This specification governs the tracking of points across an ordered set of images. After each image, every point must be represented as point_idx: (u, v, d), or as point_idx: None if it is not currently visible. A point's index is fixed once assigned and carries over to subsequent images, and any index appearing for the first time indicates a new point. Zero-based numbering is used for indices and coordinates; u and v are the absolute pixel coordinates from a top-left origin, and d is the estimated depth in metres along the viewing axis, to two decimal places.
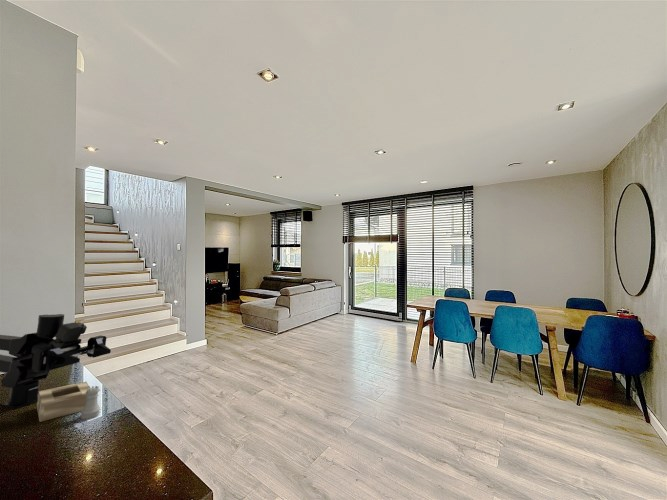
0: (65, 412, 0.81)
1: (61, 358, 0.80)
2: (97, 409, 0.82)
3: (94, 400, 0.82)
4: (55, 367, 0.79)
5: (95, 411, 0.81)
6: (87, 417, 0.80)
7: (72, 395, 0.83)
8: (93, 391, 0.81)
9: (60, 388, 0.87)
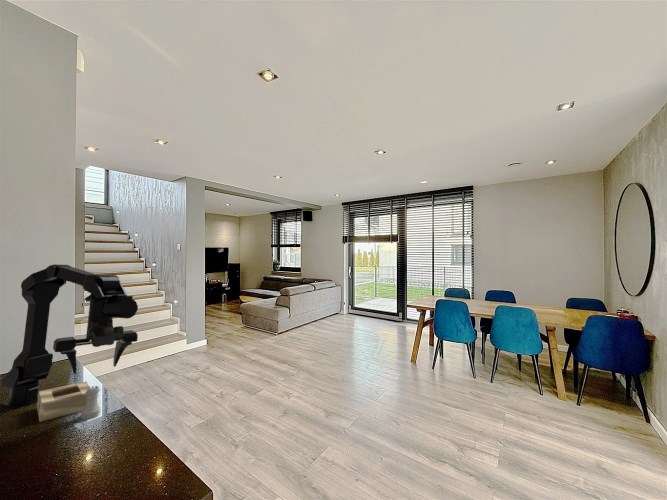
0: (65, 412, 0.81)
1: None
2: (97, 409, 0.82)
3: (94, 400, 0.82)
4: (66, 353, 0.80)
5: (95, 411, 0.81)
6: (87, 417, 0.80)
7: (72, 395, 0.83)
8: (93, 391, 0.81)
9: (60, 388, 0.87)
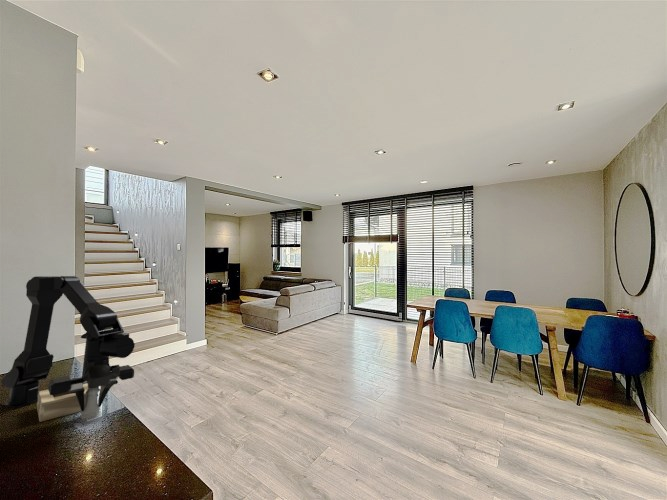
0: (65, 412, 0.81)
1: None
2: (97, 409, 0.82)
3: (94, 400, 0.82)
4: None
5: (95, 411, 0.81)
6: (87, 417, 0.80)
7: (72, 395, 0.83)
8: (93, 391, 0.81)
9: None
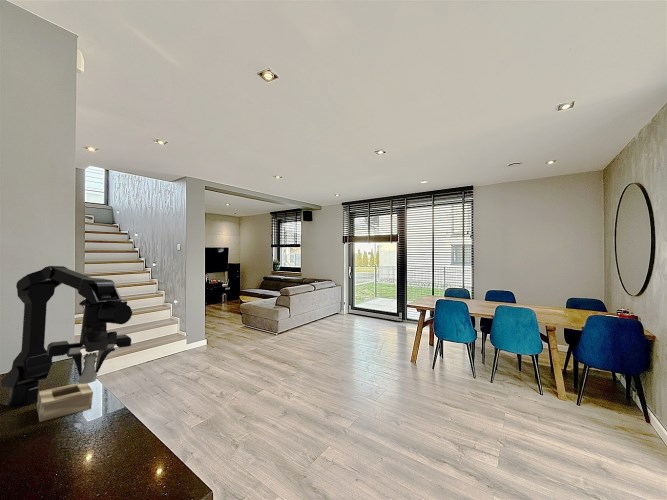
0: (65, 412, 0.81)
1: None
2: (94, 375, 0.83)
3: (91, 366, 0.83)
4: None
5: (92, 376, 0.83)
6: (84, 381, 0.81)
7: (72, 395, 0.83)
8: (91, 357, 0.83)
9: (60, 388, 0.87)
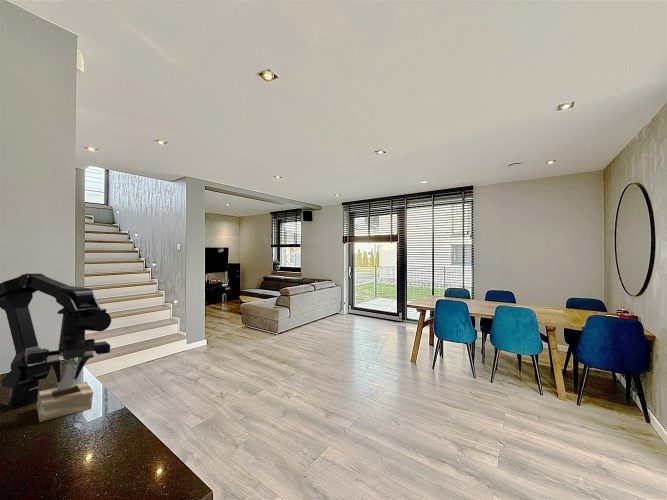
0: (65, 412, 0.81)
1: None
2: (73, 381, 0.86)
3: (70, 372, 0.86)
4: None
5: (71, 383, 0.85)
6: (63, 388, 0.84)
7: (72, 395, 0.83)
8: (69, 364, 0.85)
9: None
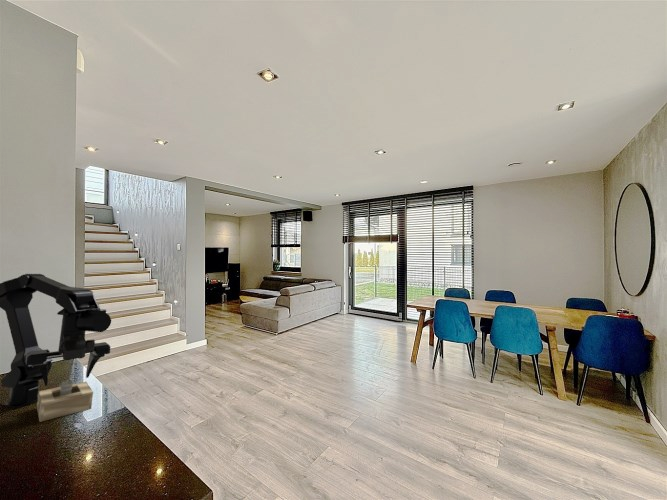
0: (65, 412, 0.81)
1: None
2: None
3: (68, 393, 0.85)
4: None
5: None
6: None
7: (72, 395, 0.83)
8: (67, 384, 0.85)
9: (60, 388, 0.87)
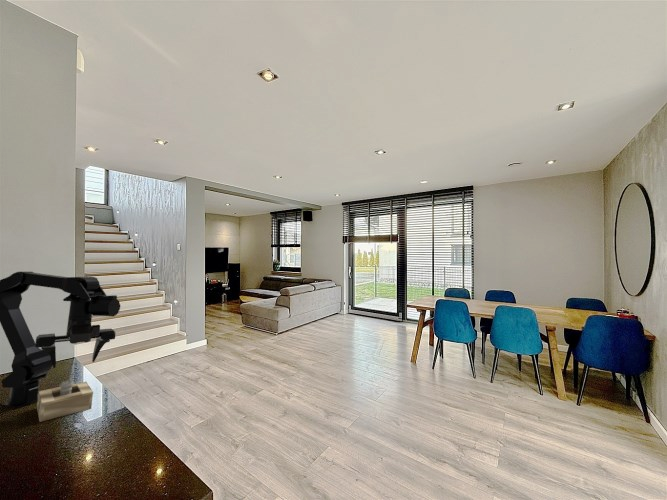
0: (65, 412, 0.81)
1: None
2: None
3: (68, 393, 0.85)
4: None
5: None
6: None
7: (72, 395, 0.83)
8: (67, 384, 0.85)
9: (60, 388, 0.87)
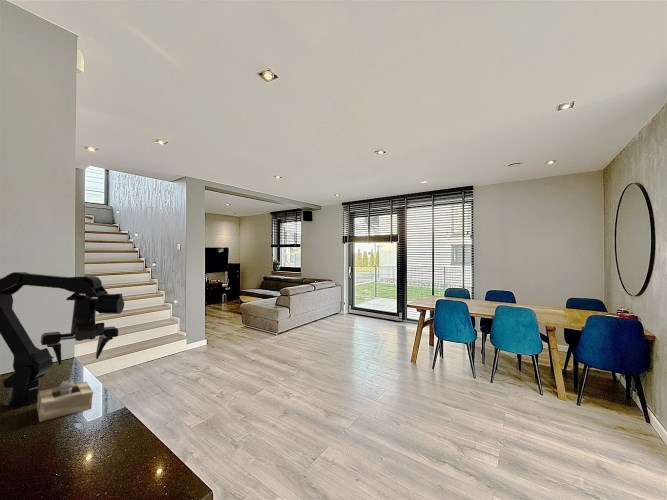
0: (65, 412, 0.81)
1: None
2: None
3: (68, 393, 0.85)
4: (52, 346, 0.89)
5: None
6: None
7: (72, 395, 0.83)
8: (67, 384, 0.85)
9: (60, 388, 0.87)
